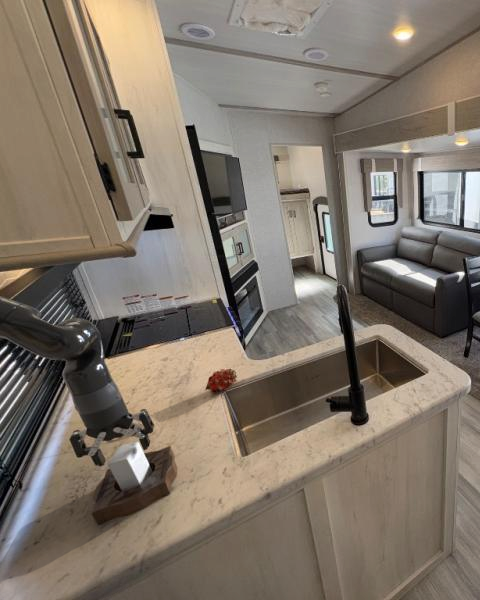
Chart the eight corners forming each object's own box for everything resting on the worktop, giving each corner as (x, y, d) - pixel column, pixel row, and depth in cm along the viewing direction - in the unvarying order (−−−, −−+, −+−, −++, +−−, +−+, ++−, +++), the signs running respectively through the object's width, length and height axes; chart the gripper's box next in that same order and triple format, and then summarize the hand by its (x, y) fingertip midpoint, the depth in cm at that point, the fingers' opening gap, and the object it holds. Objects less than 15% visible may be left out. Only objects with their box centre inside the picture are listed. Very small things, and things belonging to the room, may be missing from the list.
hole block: (91, 531, 70) (83, 519, 69) (108, 479, 83) (103, 468, 82) (174, 494, 77) (169, 483, 76) (179, 452, 90) (174, 442, 89)
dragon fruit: (242, 383, 125) (213, 403, 116) (229, 369, 126) (199, 388, 118) (242, 374, 119) (211, 394, 110) (228, 359, 120) (197, 378, 112)
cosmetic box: (136, 479, 82) (119, 445, 78) (154, 474, 84) (139, 440, 79) (125, 500, 77) (106, 464, 73) (145, 494, 78) (127, 458, 74)
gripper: (141, 383, 77) (161, 434, 83) (63, 405, 71) (91, 458, 76) (135, 399, 71) (158, 452, 77) (50, 424, 65) (81, 481, 70)
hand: (125, 455), depth 76 cm, fingers open, 8 cm apart
